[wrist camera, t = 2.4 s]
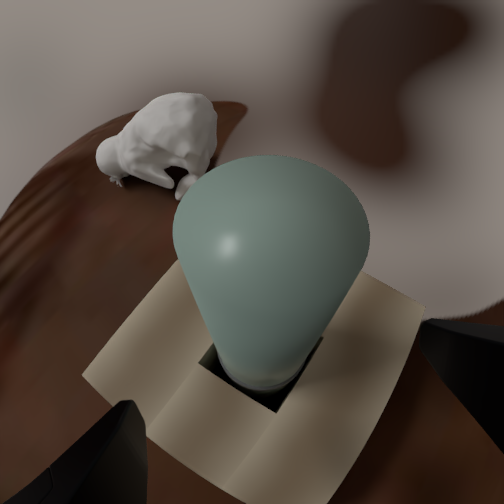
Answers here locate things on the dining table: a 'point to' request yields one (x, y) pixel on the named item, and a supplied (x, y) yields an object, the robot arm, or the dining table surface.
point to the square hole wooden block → (249, 411)
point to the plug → (269, 262)
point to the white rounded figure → (163, 142)
